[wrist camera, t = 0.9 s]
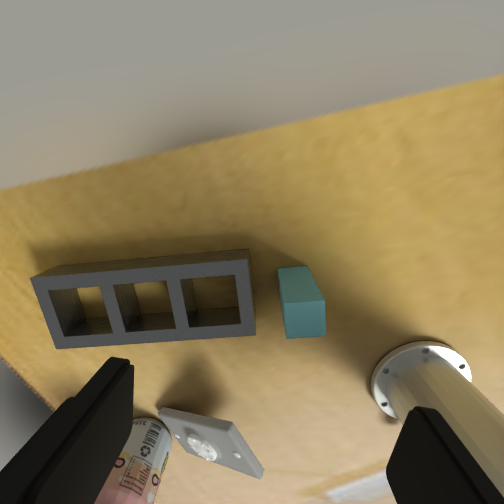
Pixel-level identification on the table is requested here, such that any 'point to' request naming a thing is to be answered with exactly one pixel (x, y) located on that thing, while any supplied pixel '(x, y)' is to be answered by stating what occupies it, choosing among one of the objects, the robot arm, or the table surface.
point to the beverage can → (138, 465)
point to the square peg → (301, 303)
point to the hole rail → (126, 304)
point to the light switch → (212, 440)
